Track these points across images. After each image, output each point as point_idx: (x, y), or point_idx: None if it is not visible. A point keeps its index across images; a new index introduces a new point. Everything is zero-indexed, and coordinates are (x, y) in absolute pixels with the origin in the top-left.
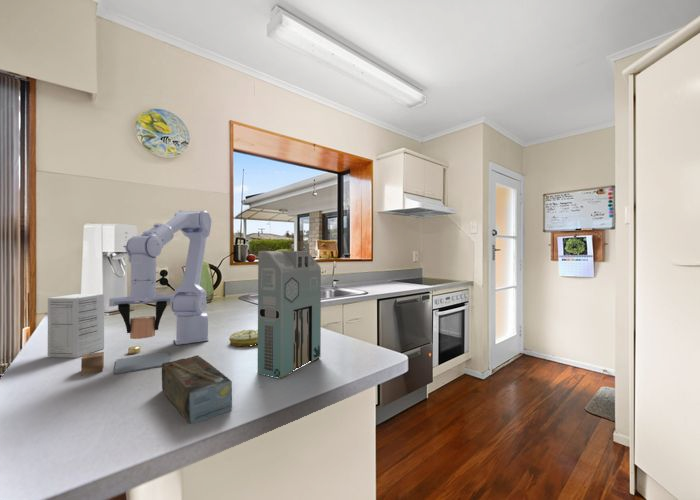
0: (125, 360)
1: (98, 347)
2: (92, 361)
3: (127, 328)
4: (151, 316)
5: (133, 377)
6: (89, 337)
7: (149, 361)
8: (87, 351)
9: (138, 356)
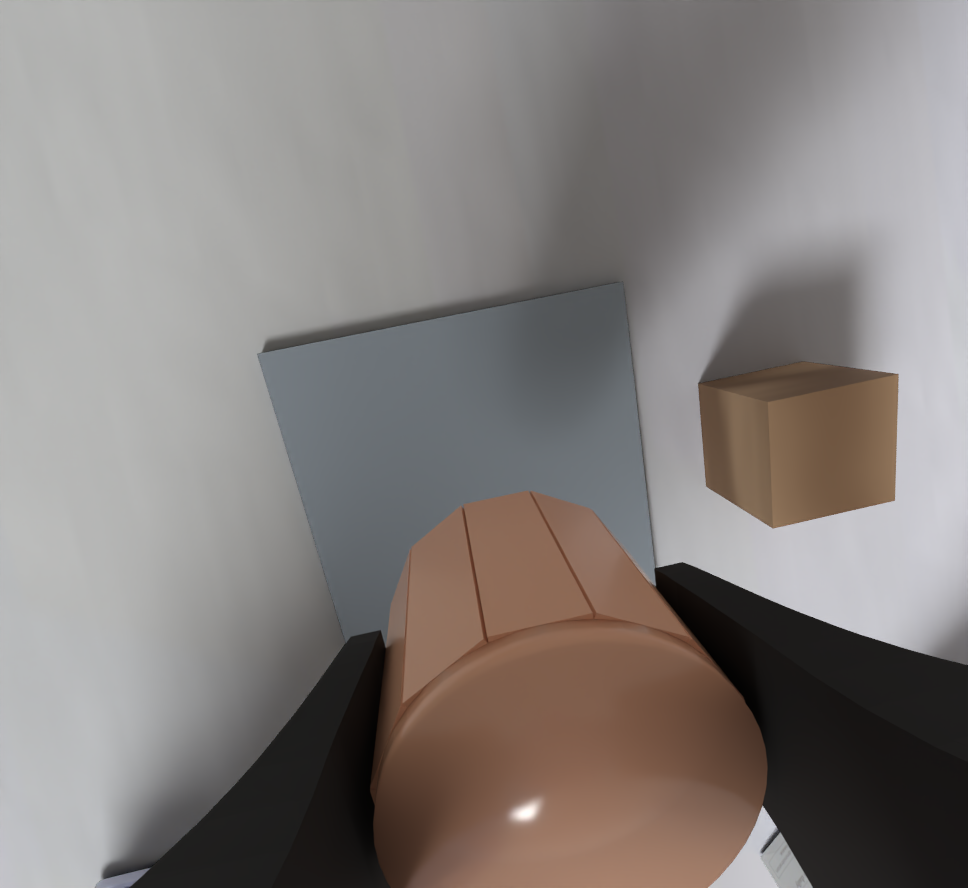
0: None
1: None
2: (805, 382)
3: (716, 578)
4: (450, 885)
5: (478, 152)
6: None
7: (432, 466)
8: None
9: None
